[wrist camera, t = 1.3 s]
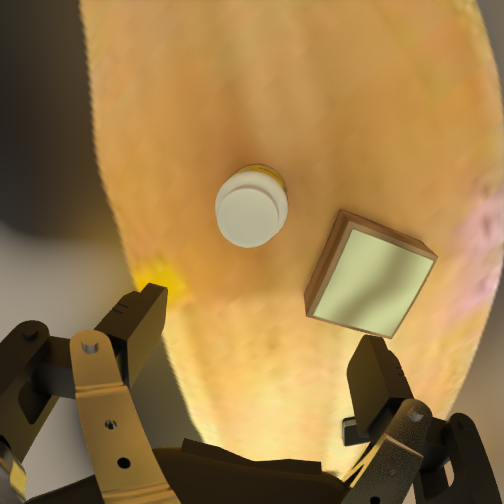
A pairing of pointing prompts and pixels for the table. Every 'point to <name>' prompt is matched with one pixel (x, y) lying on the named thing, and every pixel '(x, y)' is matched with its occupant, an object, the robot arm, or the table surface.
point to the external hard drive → (352, 433)
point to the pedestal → (367, 276)
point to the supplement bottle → (252, 206)
